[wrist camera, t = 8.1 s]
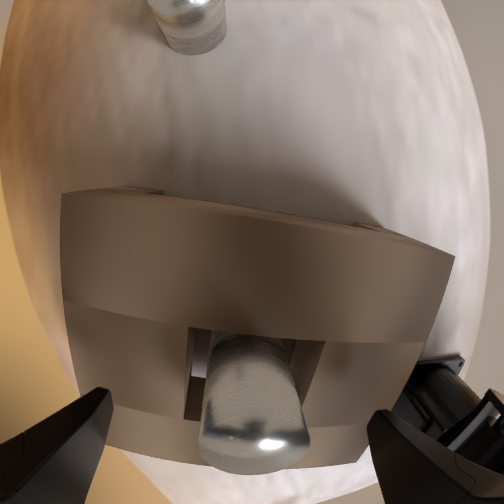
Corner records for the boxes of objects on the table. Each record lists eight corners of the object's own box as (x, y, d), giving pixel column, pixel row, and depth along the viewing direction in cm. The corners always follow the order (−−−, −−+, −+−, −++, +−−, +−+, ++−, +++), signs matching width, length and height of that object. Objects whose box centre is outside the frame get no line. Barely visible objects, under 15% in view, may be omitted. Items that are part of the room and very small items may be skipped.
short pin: (231, 12, 11) (230, -43, 6) (219, 57, 12) (213, 6, 7) (175, 10, 11) (156, -41, 6) (160, 54, 11) (131, 8, 7)
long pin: (278, 291, 15) (325, 416, 6) (266, 341, 16) (293, 474, 7) (218, 283, 15) (200, 410, 6) (211, 335, 15) (196, 470, 7)
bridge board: (384, 228, 14) (455, 256, 9) (329, 398, 17) (356, 462, 11) (126, 186, 13) (61, 193, 7) (125, 376, 16) (95, 441, 10)
